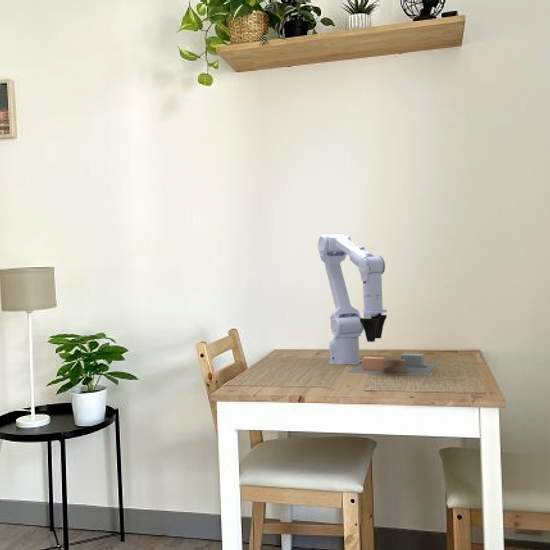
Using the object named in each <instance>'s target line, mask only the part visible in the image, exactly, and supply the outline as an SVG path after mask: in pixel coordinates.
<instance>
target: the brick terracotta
mask: <svg viewBox="0 0 550 550" xmlns="http://www.w3.org/2000/svg"><path fill="white" fill-rule="evenodd" d="M361 360H362V361H361V363H362V368H363V370H374V371H383V360H386V357H385V356H384V357H383V356H364V357H362V358H361Z"/></svg>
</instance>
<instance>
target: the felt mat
mask: <svg viewBox="0 0 550 550" xmlns="http://www.w3.org/2000/svg"><path fill="white" fill-rule="evenodd" d="M438 365H439V363H429V362H427V363H426V362H424V366H423V367H406V373H386V374H384V372H383V371H374V370H363V368H362V362H360V363H358V364H356V366H355V367H352V368H350V369H349V370H348V371H346V373H353V374H354V373H355V374H379V375H398V376H399V375H400V376H401V375H402V376H403V375H404V376H418V377H419V376H421V377H425V376H426V377H427V376H428V375H429V374H430V373H432V371H433V370H434V369H435V368H436V367H437V366H438Z"/></svg>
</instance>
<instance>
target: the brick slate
mask: <svg viewBox="0 0 550 550" xmlns="http://www.w3.org/2000/svg"><path fill="white" fill-rule="evenodd" d="M400 359H405V361H406V367H423V366H424V363H425V362H424V361H425V359H424V354H423V353H402V354H401V355H400Z"/></svg>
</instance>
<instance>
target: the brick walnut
mask: <svg viewBox="0 0 550 550" xmlns="http://www.w3.org/2000/svg"><path fill="white" fill-rule="evenodd" d="M383 372H384V374H383V375H387V374H386V373H406V361H405V359H401V358H395V359H387V358H386V359H385V360H383Z"/></svg>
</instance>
